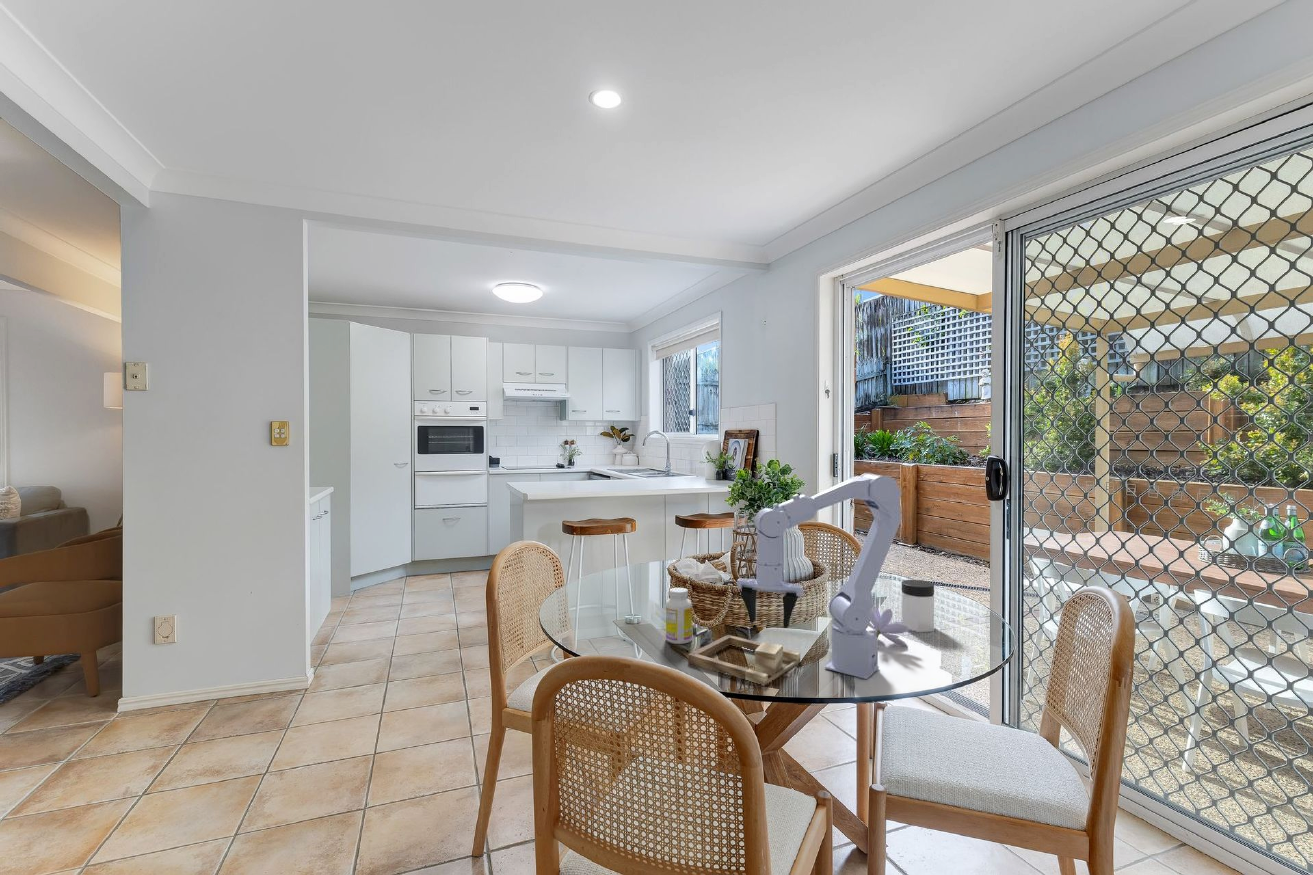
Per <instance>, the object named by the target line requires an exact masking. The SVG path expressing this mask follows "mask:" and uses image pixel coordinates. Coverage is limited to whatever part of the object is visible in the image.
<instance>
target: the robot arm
mask: <svg viewBox="0 0 1313 875" xmlns="http://www.w3.org/2000/svg"><path fill="white" fill-rule="evenodd" d="M902 494H903V491H902V490H901V488H900V486H899V484H898V483H897V481H896V480H895V479H894V478H893V477H891V476H888V475H880V474H875V473H872V472H865V473H863V474H860V476H859V475H857V476H852V477H850V478H848V479H846V480H844V481H842V482H840V483H838V484H835V485H834V486H832V487H830V488H828V489H827V488H826V489H825V490H823V491H821V492H819V493H816V494H814V495H813V496H808V495H806V494H801V495H799V494H798V493H795V494H792V496H791V499H789V500H786V501H784V502H781V503H779V504H778V503H777V502H775V503H773V504H772V508H770V507H769V508H768V507H765V508H762V509H760V510H759V511H758V512H757V513H756V515H755V517H754V520H753V524H754V527H755V529H756V530H757V531H756V532H757V533H756V534H757V535H756V578H741V577H740V578H738V579H737V580H736V588H737V589H739V590H741V591H739V592H740V595H741V597H742V599H743V601H744V603H745V605H746V608H747V611H748V615H749V619H750V623H753V622H754V621H755V620H756V621H757V600H756V595H757V593H758V591H761V592H762V591H763V592H771V593H777V594H784V595H783V596H782V604H783V605H782V607H783V621H782V622H783V629H787V628H788V627H789V626H790V623H791V622H790V621H791V617H792V614H793V611H794V607H795V606H796V603H797V601H798V599H799V597H800V598H801V597H802V596H803V595H804V585H800V584H794V583H790V582H787V581H786V582H785V581H784V578H783V576H784V575H783V573H784V572H783V570H784V568H783V563H784V559H783V558H784V555H783V554H784V553H783V552H784V550H783V549H784V542H783V534H785V532H786V530H787V529H791V528H793V527H796V526H798V525H800V524H803V523H806V522H809V521H810V520H813V519H814V518H815V517H816V514H817V512H818V511H820V510H823V509H825V508H827V507H831V506H833V505H835V504H836V505H837V504H838V503H842V502H844V501H847V500H849V499H853V500H854V499H855V500H861V501H863V502H864V503H865V504H866V506H868V508H869V511H870V512H871V514H872V516H873V521H872V523H871V526H870V528H869V530H868V532H867V535H866V537H865V540H864V542H863V544H862V547H861V549H860V552H859V554H858V556H857V559H856V561H855V563H854V566H853V568H852V571H851V573H850V576H849V577H848V580H847V581H846V582H845V583H844V584H842V585H841V586H840V587H839V589H838V592H836V594H835V595H834V596H833V597H831V599H830V601H829V604H828V610H829V614H830V615H831V617H832V618H833V621H832V624H831V661H830V662H829V663H826V664H825V665H824V668H825V669H826V670H830V671H834V672H838V673H842V674H846V675H848V676H852V677H857V678H860V679H864V680H867V679H869V678H870V677H871V676H872V675H873V674H874V673H876V672H877V670H878V669H879V668H880V666H879V664H878V662H879V660H878V659H879V658H878V657H879V651H878V650H879V643H878V642H879V641H878V639H879V638H878V639H877V636H876V635H875V634H873V633H870V632H868V631H869V630H867V629H868V628H869V624H870V623H871V621H870V619H871V618H870V611H871V610H872V607H873V606H874V605H873V604H874V603H873V598H872V591H873V589H874V586H875V584H876V582H877V579H878V576H879V574H880V572H881V570H882V569H883V568H882V567H883V565H884V563H885V560H886V557H887V555H888V552H889V550H890V548H891V546H892V543H893V541H894V539H895V538H896V534H897V532H898V529H899V527H900V524H901V522H902V507H901V496H902Z"/></svg>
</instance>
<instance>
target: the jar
mask: <svg viewBox="0 0 1313 875" xmlns="http://www.w3.org/2000/svg"><path fill="white" fill-rule="evenodd" d="M900 620H901V621H900V622H902V624H903V625H905V626H907V627H908V628H910V629H911V630H910V631H912V632H915V633H928V632H929V633H930V632H932V633H933V632H934V630H935V629H934V628H935V585H934V583H932V582H930V581H926V580H919V579H906V580H902V581H901V619H900Z"/></svg>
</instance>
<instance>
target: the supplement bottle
mask: <svg viewBox="0 0 1313 875" xmlns="http://www.w3.org/2000/svg"><path fill="white" fill-rule="evenodd" d="M688 595H689V589H688V588H685V587H673V588H670V589H669V596H670V598H668V599H667V600H666V602H665V639H666V641H667V642H668V643H670V644H675V645H684V644H688V643H690V642H692V639H693V603H692V601H691V600H690V599H689V598H688Z"/></svg>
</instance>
